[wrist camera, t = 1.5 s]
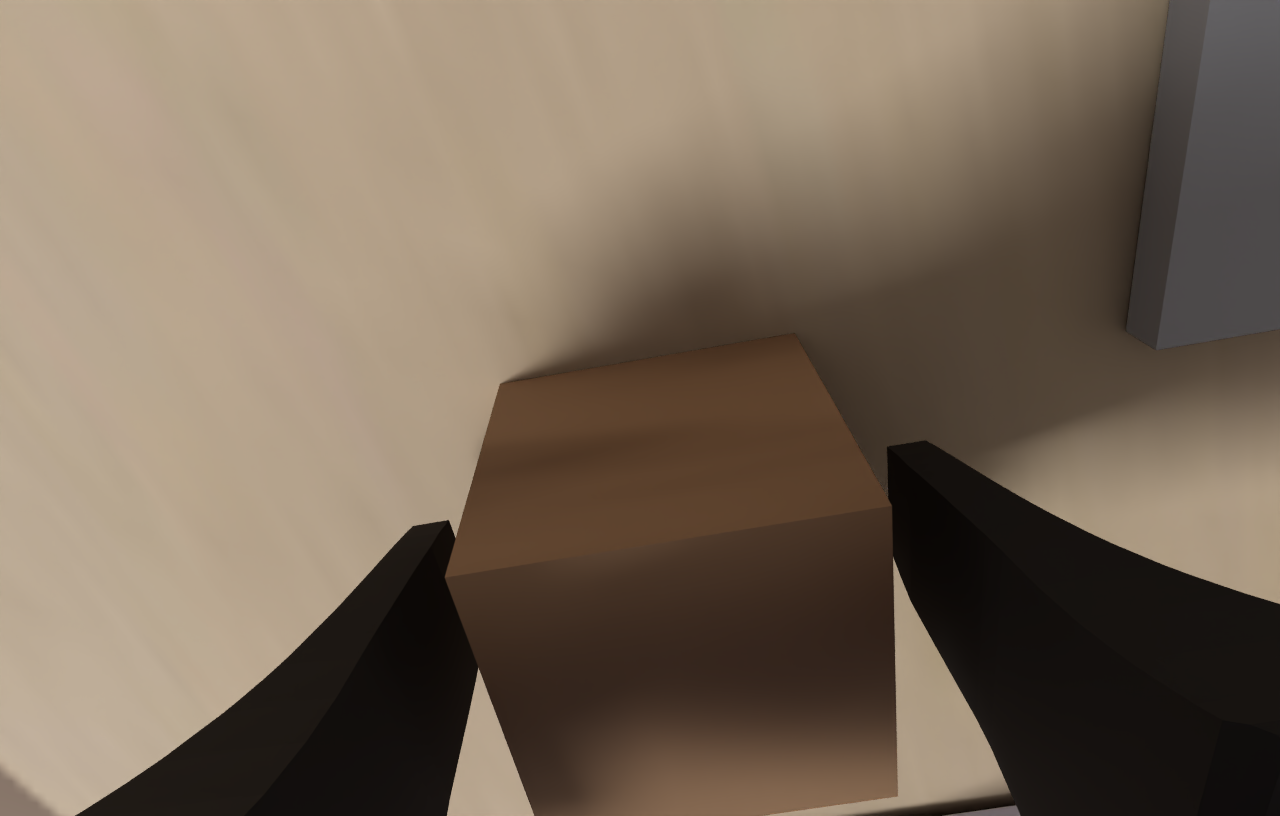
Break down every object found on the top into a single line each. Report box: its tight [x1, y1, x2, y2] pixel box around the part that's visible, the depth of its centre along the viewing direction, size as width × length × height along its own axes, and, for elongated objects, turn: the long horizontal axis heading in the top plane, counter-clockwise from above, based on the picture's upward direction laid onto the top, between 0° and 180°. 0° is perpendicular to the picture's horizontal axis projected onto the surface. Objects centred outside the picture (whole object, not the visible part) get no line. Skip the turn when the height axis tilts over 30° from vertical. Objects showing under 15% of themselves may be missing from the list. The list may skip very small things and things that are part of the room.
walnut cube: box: [445, 333, 898, 816], centre depth 12 cm, size 5×5×5 cm
